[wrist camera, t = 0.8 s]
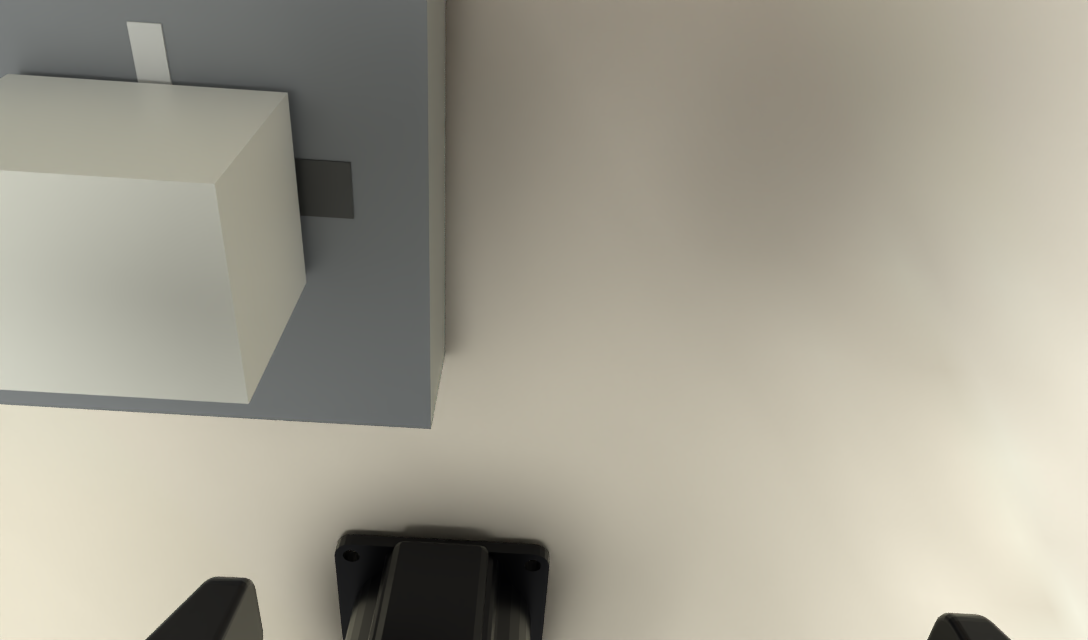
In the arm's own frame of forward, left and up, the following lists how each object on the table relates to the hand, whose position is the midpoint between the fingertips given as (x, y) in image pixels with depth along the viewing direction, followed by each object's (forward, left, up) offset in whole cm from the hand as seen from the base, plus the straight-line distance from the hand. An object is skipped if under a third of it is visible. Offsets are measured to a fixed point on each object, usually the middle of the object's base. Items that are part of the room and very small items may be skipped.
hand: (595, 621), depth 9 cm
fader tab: (0, +8, -10) cm, 12 cm away
